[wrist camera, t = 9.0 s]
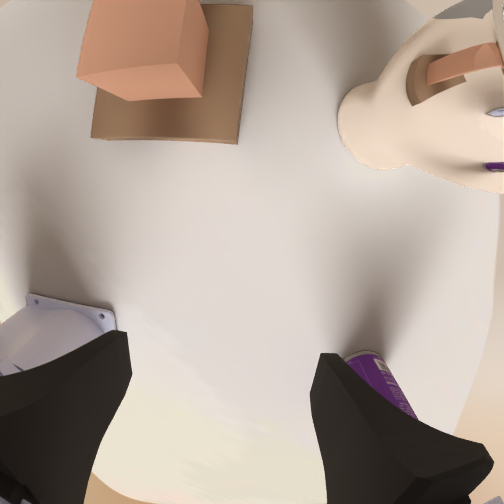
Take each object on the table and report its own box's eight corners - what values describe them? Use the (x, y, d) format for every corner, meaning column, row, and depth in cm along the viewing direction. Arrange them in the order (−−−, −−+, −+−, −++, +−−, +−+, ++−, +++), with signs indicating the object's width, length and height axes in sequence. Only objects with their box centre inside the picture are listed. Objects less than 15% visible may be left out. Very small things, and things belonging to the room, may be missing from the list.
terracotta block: (128, 101, 15) (76, 77, 9) (137, 36, 14) (95, -6, 8) (202, 97, 15) (176, 63, 9) (209, 30, 14) (190, -24, 8)
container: (332, 356, 22) (391, 524, 8) (386, 345, 22) (473, 489, 8) (331, 397, 23) (373, 547, 9) (381, 386, 23) (443, 521, 9)
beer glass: (321, 161, 18) (492, 157, 4) (338, 65, 16) (467, -67, 2) (412, 187, 19) (597, 237, 4) (425, 98, 17) (594, 58, 2)
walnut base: (111, 140, 18) (90, 137, 15) (130, 28, 16) (115, 12, 13) (237, 145, 19) (235, 140, 16) (252, 25, 16) (252, 5, 13)
